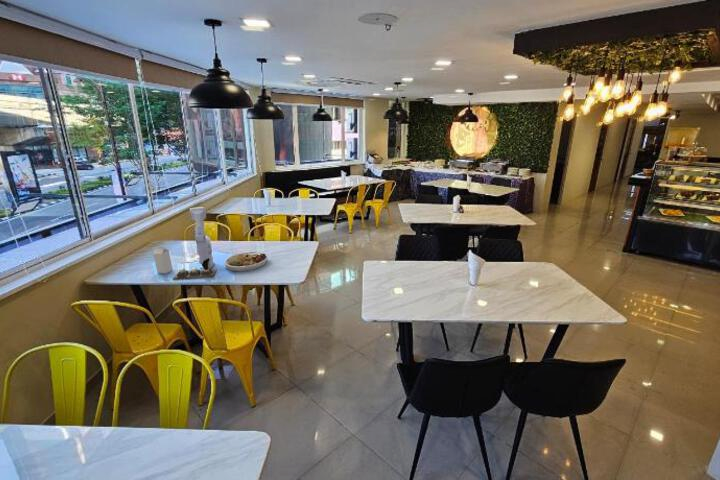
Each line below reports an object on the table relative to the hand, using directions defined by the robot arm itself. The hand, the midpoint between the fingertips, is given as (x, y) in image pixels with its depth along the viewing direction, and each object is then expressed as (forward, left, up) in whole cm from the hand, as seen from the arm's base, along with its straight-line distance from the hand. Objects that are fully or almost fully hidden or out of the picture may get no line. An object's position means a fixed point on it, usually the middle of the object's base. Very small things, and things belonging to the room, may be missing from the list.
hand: (206, 269), depth 244 cm
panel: (-1, -8, -4) cm, 9 cm away
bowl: (-15, +24, -5) cm, 29 cm away
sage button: (0, -16, -1) cm, 16 cm away
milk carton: (-12, -33, -4) cm, 35 cm away
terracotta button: (0, 0, -2) cm, 2 cm away
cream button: (0, -8, -1) cm, 8 cm away
